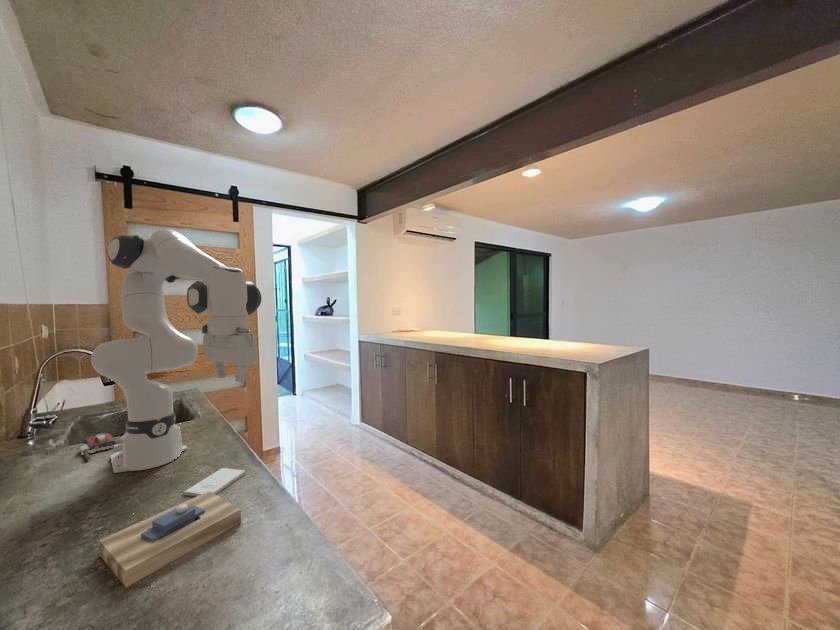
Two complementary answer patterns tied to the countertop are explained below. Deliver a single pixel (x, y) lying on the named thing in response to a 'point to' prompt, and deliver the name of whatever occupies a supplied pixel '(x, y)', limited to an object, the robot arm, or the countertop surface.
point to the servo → (172, 522)
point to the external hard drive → (215, 482)
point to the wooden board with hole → (166, 539)
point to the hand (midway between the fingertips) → (230, 379)
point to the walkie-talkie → (97, 443)
